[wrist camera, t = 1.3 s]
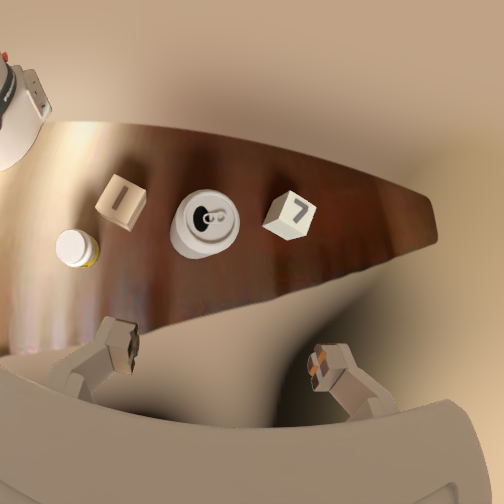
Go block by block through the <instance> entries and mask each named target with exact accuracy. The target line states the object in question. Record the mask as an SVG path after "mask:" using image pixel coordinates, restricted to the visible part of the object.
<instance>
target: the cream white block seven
mask: <svg viewBox="0 0 504 504" xmlns="http://www.w3.org/2000/svg"><path fill="white" fill-rule="evenodd" d="M315 209H316V207H315V206H314V205H312V204H311V203H309V202H308V201H306V200H305V199H303V198H301V197H300V196H298V195H297V194H295V193H294V192H292V191H288V192H287V193H285V194H283V195H282V196H280V197H278V198H277V199H275V200H273V202H272V205H271V207H270V209H269V211H268V214H267V216H266V218H265V220H264V223H263V225H262V226H263V227H265V228H266V229H268V230H270V231H272V232H273V233H275V234H277V235H279V236H280V237H282V238H284V239H286V240H290V239H294V238H298V237H302V236H306V234H307V231H308V229H309V226H310V223H311V221H312V218H313V215H314V212H315Z"/></svg>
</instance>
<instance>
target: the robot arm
mask: <svg viewBox="0 0 504 504" xmlns="http://www.w3.org/2000/svg"><path fill="white" fill-rule="evenodd" d="M7 61H8V56H7V53H6V52H5V53H3V54H2V55H1V53H0V171H2V170H5V169H7V168H9V167H11V166H12V165H14V164H15V163H16V162H18V161H19V160H20V159H21V158H22V157H23V156H24V155H25V154H26V152H27V151H28V150H29V149H30V147H31V146H32V144H33V143H34V141H35V139H36V137H37V135H38V132H39V130H40V127H41V125H42V124H43V122H44V121H45V120H46V119H47V118H48V116H49V115H50V113H51V112H52V108H51V105H50V104H49V101H48V99H47V97H46V95H45V93H44V90H43V88H42V86H41V84H40V82H39V79H38V77H37V75H36V72H35V71H34V69H30V70H25V71H23V70H22V68H21V66H20V65H14V66H9V65H8V64H7V63H6V62H7ZM44 106H45V107H44ZM43 107H44V108H43ZM138 330H139V328H138V324H137V323H134V322H130V321H125V320H121V319H117V318H112V317H108V316H106V317H105V318H104V319H103V321H102V323H101V326H100V328H99V330H98V332H97V334H96V337H95V339H94V341H93V342H91V341H90V342H88V343H87V344H85V345H84V346H82V347H80V348H79V349H77V350H76V351H74V352H72V353H71V354H69V355H68V356H66V357H65V358H63V359H61V360H60V361H58V362H57V363H55V364H54V365H53V367H52V369H51V371H50V373H49V375H48V377H47V380H46V382H45V384H44V386H42V385H40V384H37V383H35V382H33V381H31V380H28V379H26V378H24V377H22V376H20V375H17V374H16V373H14V372H12V371H10V370H8V369H6V368H4V367H2V366H0V504H492V494H491V493H492V492H491V485H490V479H489V475H488V470H487V466H486V462H485V459H484V455H483V452H482V449H481V446H480V443H479V440H478V437H477V435H476V432H475V430H474V427H473V425H472V423H471V420H470V418H469V417H468V415H467V413H466V412H465V411H464V410H463V409H462V408H461V407H459V406H458V405H457V404H455V403H454V402H452V401H451V400H448V399H445V400H441V401H438V402H435V403H431V404H428V405H425V406H421V407H418V408H414V409H411V410H407V411H402V412H399V410H398V407H397V405H396V403H395V400H394V398H393V396H392V394H391V393H390V392H389V391H387V390H386V389H385V388H384V387H382V386H381V385H380V384H379V383H378V382H376V381H375V380H374V379H373V378H371V377H370V376H369V375H368V374H366V373H365V372H364V371H363V370H362V369H360V368H357V366H356V364H355V361H354V358H353V356H352V354H351V351H350V349H349V347H348V346H347V344H320V343H319V344H317V345H316V346H315V348H314V350H315V352H314V353H313V354H311V356H310V357H309V360H308V371H309V373H310V374H311V375H312V376H313V377H312V379H311V382H312V386H313V390H314V391H329V392H330V393H331V394H332V395H333V396H334V398H335V399H336V400H337V401H338V402H339V403H340V404H341V405H342V407H344V409H345V410H346V411H347V412H348V413H349V414H350V415H351V417H350V418H349V419H348V420H347V421H346V422H345V423H338V424H329V425H319V426H307V427H291V428H236V427H218V426H206V425H196V424H188V423H180V422H173V421H166V420H160V419H155V418H148V417H144V416H139V415H135V414H130V413H126V412H122V411H117V410H114V409H109V408H106V407H103V406H99V405H96V403H95V402H94V400H93V397H92V395H91V393H92V392H93V391H95V390H96V389H97V388H98V387H99V386H100V385H101V384H102V383H103V382H104V381H105V380H107V379H108V378H109V377H110V376H111V375H112V374H113V373H114V372H119V373H123V374H128V375H132V373H133V369H134V366H135V360H134V358H135V357H136V356H137V355H138V351H139V343H140V340H139V335H138V334H137V333H138Z"/></svg>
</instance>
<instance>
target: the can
mask: <svg viewBox="0 0 504 504" xmlns="http://www.w3.org/2000/svg"><path fill="white" fill-rule="evenodd" d="M239 224H240V220H239V214H238V211H237V209H236V207H235V205H234V203H233V202H232V201H231V200H230V199H229V198H228V197H227V196H226V195H224V194H222V193H220V192H218V191H215V190H210V189H205V190H198V191H195V192H193V193H191V194H189V195H188V196H187V197H186V198H185V199H184V200H183V201H182V202H181V204H180V206H179V207H178V209H177V212H176V214H175V216H174V219H173V221H172V224H171V228H170V238H171V242H172V244H173V246H174V248H175V249H176V250H177V251H178V252H179V253H180V254H181V255H183V256H185V257H187V258H192V259H199V258H204V257H207V256H210V255H213V254H216V253H218V252H221V251H222V250H224V249H226V248H228V247H229V246H230V245H231V244H232V242H233V241H234V240H235V238H236V236H237V234H238V232H239Z"/></svg>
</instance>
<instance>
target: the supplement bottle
mask: <svg viewBox="0 0 504 504" xmlns="http://www.w3.org/2000/svg"><path fill="white" fill-rule="evenodd" d="M56 252H57V255H58V257H59V258H60V259H61V260H62V261H63V262H64V263H66V264H67V265H69V266H72V267H79V268H88V267H91V266H93V265H94V264H95V263H96V262H97V260H98V258H99V255H100V248H99V245H98V243H97V241H96V240H95V239H94V238H93V237H91V236H90V235H88V234H87V233H85V232H84V231H82V230H78V229H69V230H66V231H64V232H62V233H61V234H60V236H59V237H58V239H57V242H56Z"/></svg>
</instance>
